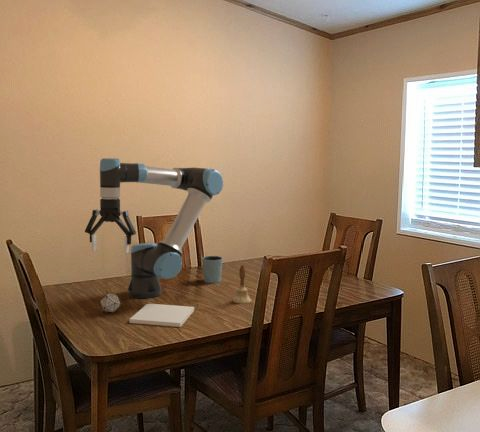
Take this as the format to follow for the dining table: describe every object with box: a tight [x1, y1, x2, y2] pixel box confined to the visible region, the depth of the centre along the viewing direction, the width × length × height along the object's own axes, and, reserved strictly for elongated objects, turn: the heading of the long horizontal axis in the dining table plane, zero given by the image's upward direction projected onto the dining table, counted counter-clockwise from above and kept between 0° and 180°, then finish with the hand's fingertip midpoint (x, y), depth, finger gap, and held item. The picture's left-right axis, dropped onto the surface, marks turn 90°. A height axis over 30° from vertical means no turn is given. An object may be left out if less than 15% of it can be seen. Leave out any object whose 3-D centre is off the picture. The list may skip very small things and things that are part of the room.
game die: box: [97, 291, 124, 315], centre depth 204 cm, size 9×8×10 cm
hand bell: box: [232, 264, 252, 305], centre depth 222 cm, size 8×8×16 cm
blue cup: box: [201, 255, 224, 284], centre depth 254 cm, size 10×10×12 cm
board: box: [128, 303, 195, 328], centre depth 200 cm, size 20×20×2 cm
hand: (110, 251), depth 201 cm, fingers open, 13 cm apart
